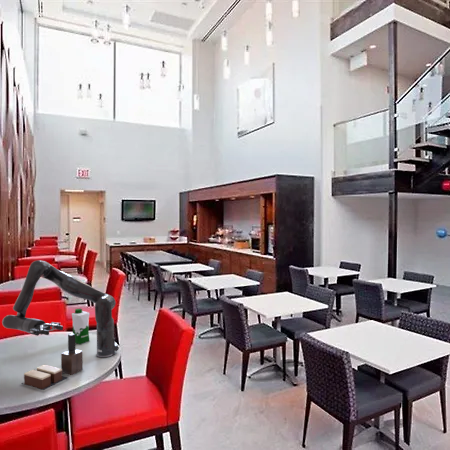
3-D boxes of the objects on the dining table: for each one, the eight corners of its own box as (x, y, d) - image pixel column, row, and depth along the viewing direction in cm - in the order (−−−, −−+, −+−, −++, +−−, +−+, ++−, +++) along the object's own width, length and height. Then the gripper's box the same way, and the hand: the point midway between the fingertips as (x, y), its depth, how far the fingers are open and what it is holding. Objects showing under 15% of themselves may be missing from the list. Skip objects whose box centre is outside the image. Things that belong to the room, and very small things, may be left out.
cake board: (21, 385, 172) (21, 383, 172) (46, 373, 185) (46, 371, 185) (43, 392, 166) (43, 390, 166) (68, 379, 179) (68, 377, 179)
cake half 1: (24, 383, 172) (24, 373, 172) (32, 379, 176) (32, 369, 176) (42, 389, 167) (42, 378, 167) (50, 384, 171) (50, 374, 171)
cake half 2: (36, 378, 178) (36, 367, 178) (44, 374, 182) (44, 364, 182) (54, 383, 173) (54, 372, 173) (62, 379, 177) (62, 368, 177)
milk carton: (82, 338, 236) (82, 307, 235) (91, 341, 231) (91, 309, 231) (70, 342, 229) (69, 310, 228) (79, 345, 224) (79, 312, 223)
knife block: (61, 374, 184) (61, 353, 184) (72, 368, 191) (72, 348, 190) (71, 376, 181) (71, 355, 181) (82, 371, 188) (82, 350, 187)
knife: (67, 372, 186) (67, 334, 185) (71, 370, 188) (71, 333, 187) (72, 373, 184) (72, 335, 183) (76, 371, 186) (75, 334, 186)
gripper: (21, 322, 190) (43, 327, 183) (45, 315, 203) (66, 319, 196) (21, 337, 190) (43, 342, 183) (45, 329, 203) (67, 333, 196)
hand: (55, 330), depth 190 cm, fingers open, 8 cm apart
